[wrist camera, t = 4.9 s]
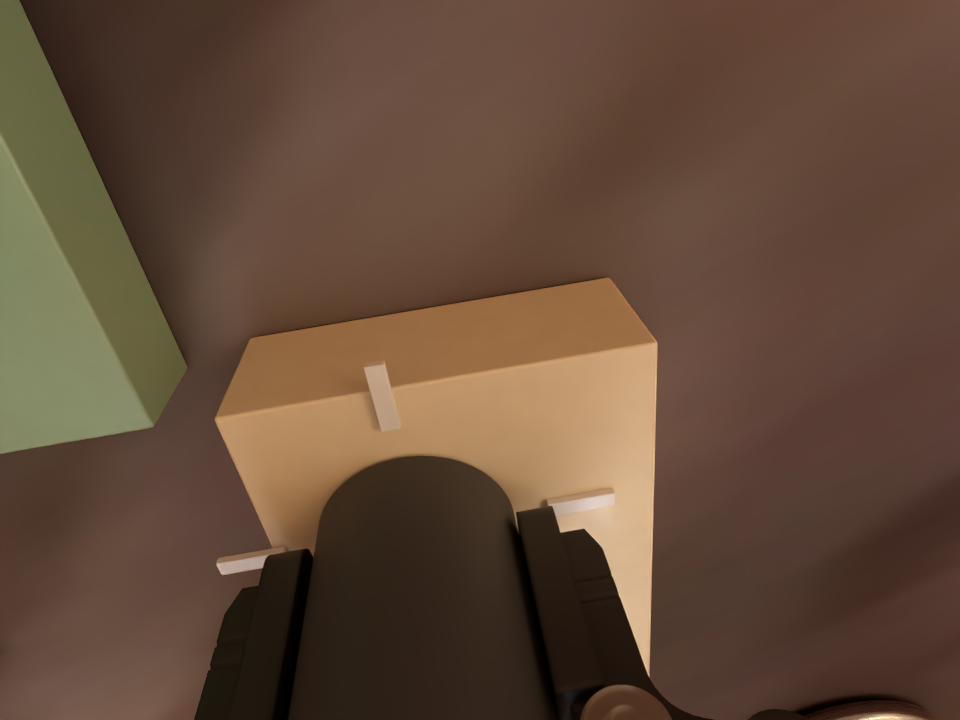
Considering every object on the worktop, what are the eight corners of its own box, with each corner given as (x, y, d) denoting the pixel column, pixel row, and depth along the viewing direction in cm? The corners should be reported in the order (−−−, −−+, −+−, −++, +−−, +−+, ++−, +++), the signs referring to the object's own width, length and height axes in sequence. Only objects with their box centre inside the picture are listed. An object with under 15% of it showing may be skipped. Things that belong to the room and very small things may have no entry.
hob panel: (616, 595, 19) (652, 693, 16) (330, 647, 19) (318, 756, 16) (609, 250, 13) (663, 316, 10) (188, 321, 13) (130, 407, 10)
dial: (495, 434, 11) (557, 721, 7) (527, 572, 14) (590, 860, 9) (289, 480, 11) (215, 797, 7) (352, 611, 14) (328, 918, 9)
